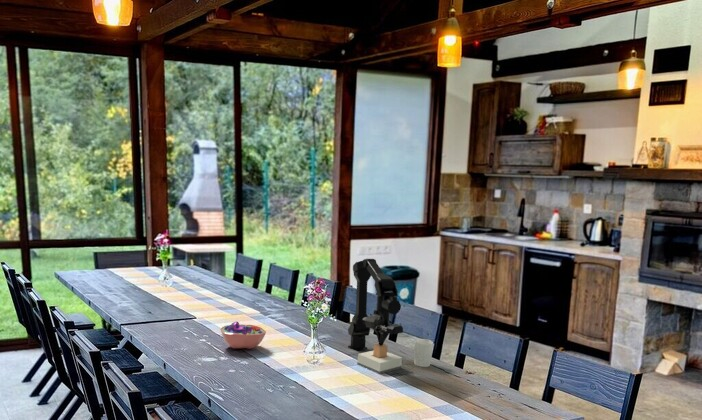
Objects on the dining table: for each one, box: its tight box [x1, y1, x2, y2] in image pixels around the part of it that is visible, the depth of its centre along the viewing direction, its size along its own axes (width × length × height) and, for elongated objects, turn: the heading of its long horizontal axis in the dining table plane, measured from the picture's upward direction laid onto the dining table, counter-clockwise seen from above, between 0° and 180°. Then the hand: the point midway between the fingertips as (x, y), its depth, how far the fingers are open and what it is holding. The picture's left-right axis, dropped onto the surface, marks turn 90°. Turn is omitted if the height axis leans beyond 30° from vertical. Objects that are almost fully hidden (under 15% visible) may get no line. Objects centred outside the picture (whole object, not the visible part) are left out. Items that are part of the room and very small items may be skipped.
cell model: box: [219, 321, 267, 350], centre depth 239 cm, size 17×20×11 cm
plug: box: [373, 343, 389, 359], centre depth 227 cm, size 4×4×8 cm
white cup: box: [413, 338, 434, 368], centre depth 234 cm, size 8×8×10 cm
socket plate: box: [357, 349, 403, 375], centre depth 228 cm, size 13×13×5 cm
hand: (380, 345), depth 227 cm, fingers closed, pressing on plug
